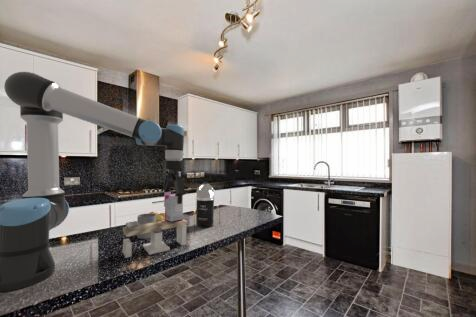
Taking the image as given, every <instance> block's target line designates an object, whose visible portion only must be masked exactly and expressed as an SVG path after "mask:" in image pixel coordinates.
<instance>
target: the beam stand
mask: <svg viewBox="0 0 476 317" xmlns="http://www.w3.org/2000/svg"><path fill="white" fill-rule="evenodd" d="M149 239H150V242H148V243H144V244H142V248H143V249H144V251H146V253H147V254H148V255H155V254H159V253H162V252H167V251H170V249H171V248H170V246H168V244H166V243H165V241H163V230H162V231H161V232H160V233H159V232H157V231H154V232H151V238H149ZM176 242H177V243H178V244H179V245H180V246H186V245H187V225H184V226H179V227H176ZM132 244H133V243H132V241H131V239H130V237H129V238H124V239H122V254H123V256H124V258H125V259H126V258H131V257H132V253H133V252H132V248H133V246H132Z"/></svg>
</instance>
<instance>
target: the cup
mask: <svg viewBox="0 0 476 317" xmlns="http://www.w3.org/2000/svg"><path fill="white" fill-rule="evenodd" d="M136 221H137V222H138V223H139V224H140V225H141V224H147V223H153V222H156V214H152V213H150V212H149V213H142V214H138V215H137V220H136ZM136 237H137V239H141V240H142V239H143V240H144V239H145V240H146V239H151V232H149V233H143V234H138V235H136Z"/></svg>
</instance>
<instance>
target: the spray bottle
mask: <svg viewBox="0 0 476 317" xmlns="http://www.w3.org/2000/svg"><path fill="white" fill-rule="evenodd" d="M195 199H196V207H195V209H196V212H195V213H196V216H195V217H196V218H195V225H196V227H199V228H210V227H213V225H214V222H215V221H214V210H215V209H214V208H215V206H214V204H215V189H214V188H213V186H212V185H211V184H209V182H207V181H204V182H203V183H202V184H200V185H199V186H198V187H197V189H196V197H195Z"/></svg>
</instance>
